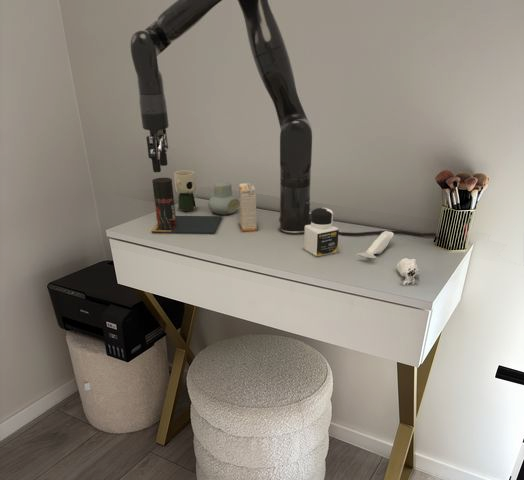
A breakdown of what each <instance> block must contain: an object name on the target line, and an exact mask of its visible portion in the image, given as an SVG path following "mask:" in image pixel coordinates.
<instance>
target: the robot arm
mask: <svg viewBox="0 0 524 480" xmlns="http://www.w3.org/2000/svg"><path fill="white" fill-rule="evenodd" d="M221 2H223V0H175V1H174V2H173V3H172V4H170V6H168V7H167V8H165V10H164V11H161V13H160V14H159V15H158V16H157V18H156V20H155V21H154V22H152V23H151V24H150V25H148V26H147V27H146V28H145V29H142V30H137V31H136V32H134V33H133V34H132V35H131V38H130V42H129V44H130V46H129V47H130V54H131V59H132V63H133V67H134V70H135V73H136V79H137V89H138V99H139V109H140V110H139V112H140V118H141V125H142V129H143V130H146V131H149V135H147V136H146V138H145V139H146V145H147V155H148V159H150V160H151V165H152V171H153V172H154V173H161V171H162V167H167V166H168V164H169V163H168V157H167V153H168V150H169V141H168V136H167V135H168V134H167V129H168V128H169V125H170V124H169V117H168V116H169V115H168V109H167V108H168V107H167V101H166V96H165V95H166V94H165V88H164V80H163V76H162V75H163V74H162V72H161V71H160V69H159V62H158V56H159V55H161V54H162V53H163V52H164V51H165V50H166V49H167V48H168V47H169V46H170V45H172V43H174V41H176V40H178V39H180V38H181V37H182V36H183V35H185V34H186V33H187V32H188V31H189V30H191V29H192V28H193V27H195V26H196V25H197V24H198V23H199V22H200V21H201V20H202V19H203V18H204V17H205V16H206V15H207V14H208V13H209V12H210V11H211V10H212V9H213V8H215V7H216V6H217V5H218V4H220V3H221ZM237 2H238V5H239V7H240V10H241V13H242V15H243V19H244V23H245V28H246V34H247V39H248V44H249V47H250V51H251V55H252V58H253V61H254V64H255V67H256V70H257V72H258V74H259V77H260V80H261V82H262V84H263V86H264V88H265V89H266V91H267V93H268V95H269V97H270V99H271V100H272V103H273V105H274V109H275V112H276V116H277V120H278V124H279V130H280V131H279V133H280V134H279V168H280V169H279V170H280V171H279V183H280V184H279V191H280V192H279V219H278V223H279V231H281V232H282V233H284V234H289V235H299V234H304V233H305V225H311V177H312V159H313V158H312V156H313V155H312V153H313V152H312V151H313V128H312V125H311V122H310V121H309V119H308V117H307V115H306V112H305V110H304V108H303V105H302V103H301V100H300V97H299V95H298V90H297V86H296V81H295V75H294V71H293V66H292V63H291V58H290V55H289V52H288V49H287V45H286V43H285V40H284V37H283V35H282V32H281V30H280V27H279V25H278V22H277V20H276V18H275V15H274V13H273V11H272V9H271V6H270V3H269V1H268V0H237ZM384 231H385V230H375V231H374V230H373V231H363V232H362V231H361V232H349V231H348V232H347V231H346V232H345V231H339V233H338V235H340V236H342V235H343V236H365V235H366V236H367V235H380V234H381V233H382V232H384ZM388 231H389V232H393V234H404V235H410V236H417V237H418V236H419V237H428V236H429V237H430V236H434V237H437V236H436V233H437V232H415V231H408V230H394V229H393V230H392V229H390V230H389V229H388Z"/></svg>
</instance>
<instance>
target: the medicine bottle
mask: <svg viewBox="0 0 524 480" xmlns="http://www.w3.org/2000/svg"><path fill="white" fill-rule="evenodd" d="M310 214H311V225H305V233H303V234H304V237H303V238H304V240H303V242H304V243H303V244H304V245H303V249H304V250H305V251H307V252H308V253H310V254H312V255H313V256H315V257H322V256H326V255H331V254H335V253H338V249H339V247H338V245H339V234H338V233H339V232H340V229H339V227H337V226H335V225H333V224H334V223H333V222H334V211H333V210H332V209H330V208H328V207H317V208H315V209H312V210H311V211H310Z"/></svg>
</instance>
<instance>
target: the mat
mask: <svg viewBox="0 0 524 480" xmlns="http://www.w3.org/2000/svg"><path fill="white" fill-rule="evenodd" d="M222 218H223V216H221V215H176V225H177V227H176V228H175V229H173V230H160V229H158V223H157V224H156V225H155V227H153V229H152V230H151V233H152V234H181V235H182V234H183V235H184V234H185V235H186V234H190V235H192V234H193V235H199V234H200V235H215V234H216V232H217V230H218V228H219V225H220V223H221V220H222Z"/></svg>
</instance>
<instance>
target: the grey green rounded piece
mask: <svg viewBox="0 0 524 480" xmlns="http://www.w3.org/2000/svg"><path fill="white" fill-rule="evenodd" d="M232 188H233V187H232V183H231V182H230V181H223V180H222V181H217V182H215V183H214V184H213V189H214V191H213V192H214V195H212V196H211V197H210V198H209V200H208V201H207V206H208V209H209V210H210V211H211V212H212V213H214V214H217V215H223V216H225V215H226V216H228V215H232V214H233V213H235V212H236V211H237V210H239V208H240V207H239V197H236V196H235V195H234V194H233V190H232Z"/></svg>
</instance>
